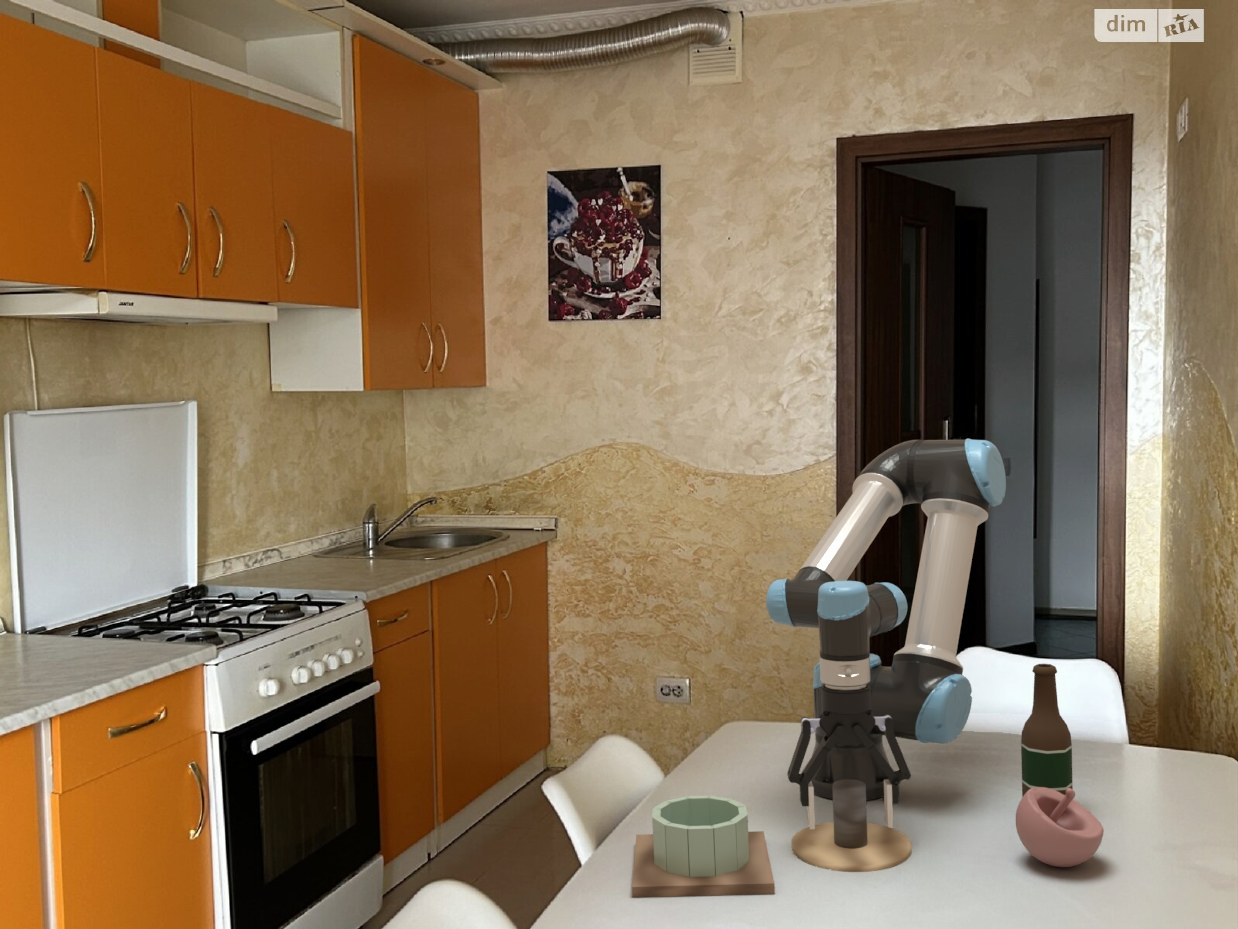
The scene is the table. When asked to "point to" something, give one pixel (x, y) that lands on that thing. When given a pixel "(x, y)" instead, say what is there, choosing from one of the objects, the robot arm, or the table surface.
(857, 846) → the lid
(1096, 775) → the table surface
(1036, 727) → the beer bottle
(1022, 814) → the mortar and pestle
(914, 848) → the table surface
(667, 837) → the bowl
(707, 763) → the table surface
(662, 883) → the serving board
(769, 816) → the table surface
